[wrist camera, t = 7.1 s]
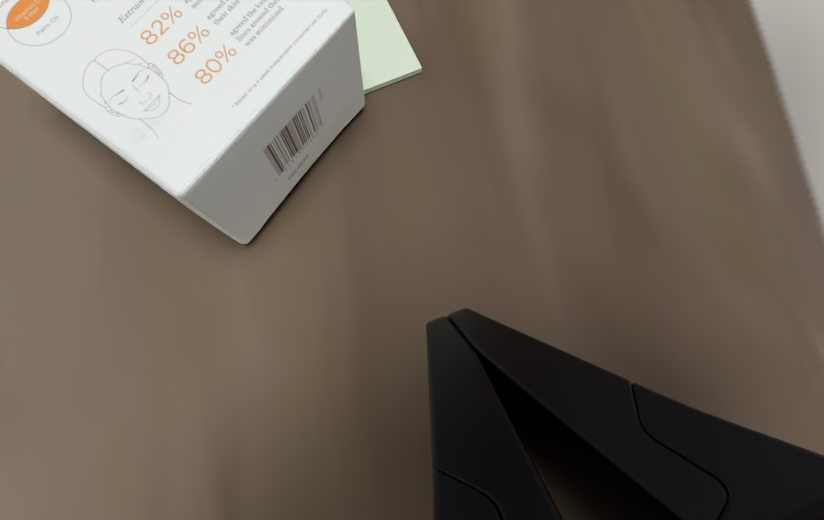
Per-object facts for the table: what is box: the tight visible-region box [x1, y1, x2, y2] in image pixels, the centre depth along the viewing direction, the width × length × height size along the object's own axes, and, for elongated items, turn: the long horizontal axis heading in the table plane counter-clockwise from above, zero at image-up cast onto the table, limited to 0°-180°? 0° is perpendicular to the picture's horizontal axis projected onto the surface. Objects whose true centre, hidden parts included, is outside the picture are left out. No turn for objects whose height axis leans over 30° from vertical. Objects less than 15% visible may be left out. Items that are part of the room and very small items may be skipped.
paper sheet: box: [346, 0, 422, 94], centre depth 20 cm, size 11×10×1 cm
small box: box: [0, 0, 365, 244], centre depth 16 cm, size 8×6×10 cm
